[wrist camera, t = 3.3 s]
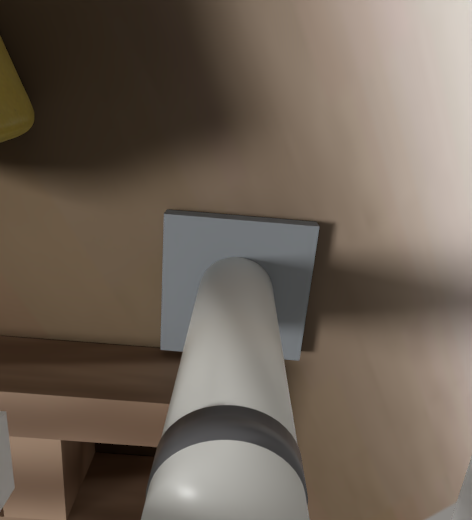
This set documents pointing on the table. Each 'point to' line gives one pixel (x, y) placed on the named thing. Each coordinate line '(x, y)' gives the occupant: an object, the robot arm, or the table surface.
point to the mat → (236, 245)
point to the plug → (229, 411)
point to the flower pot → (12, 100)
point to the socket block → (81, 425)
